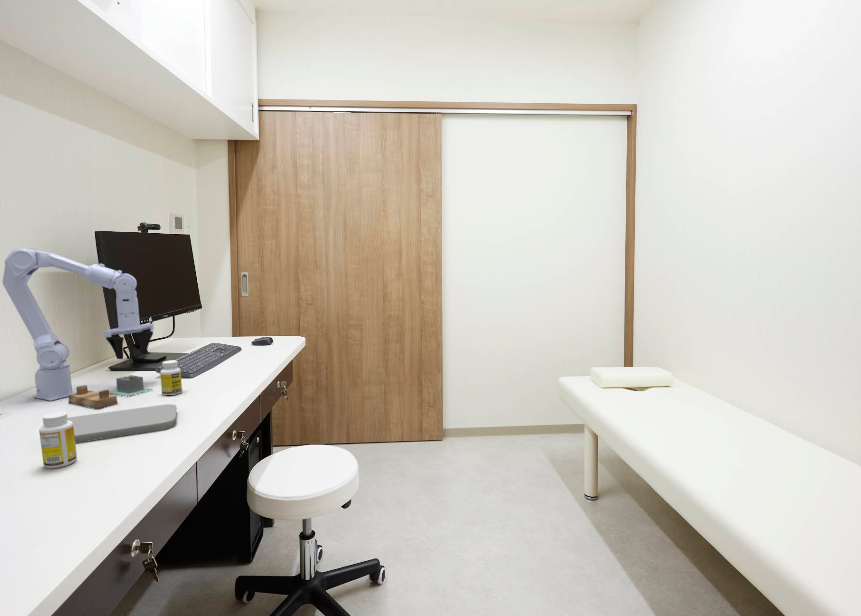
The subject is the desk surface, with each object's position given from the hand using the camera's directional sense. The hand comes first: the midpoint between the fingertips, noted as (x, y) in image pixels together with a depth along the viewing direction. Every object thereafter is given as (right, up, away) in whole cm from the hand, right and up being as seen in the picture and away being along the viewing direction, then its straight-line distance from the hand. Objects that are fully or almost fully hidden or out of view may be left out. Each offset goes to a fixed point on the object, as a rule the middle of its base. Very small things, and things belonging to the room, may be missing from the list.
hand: (132, 356), depth 160 cm
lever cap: (+2, -10, -4) cm, 11 cm away
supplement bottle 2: (+16, -11, -7) cm, 21 cm away
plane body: (-2, -12, -16) cm, 20 cm away
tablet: (+17, -15, -35) cm, 42 cm away
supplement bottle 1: (+18, -17, -56) cm, 62 cm away
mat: (+2, -10, -4) cm, 11 cm away
